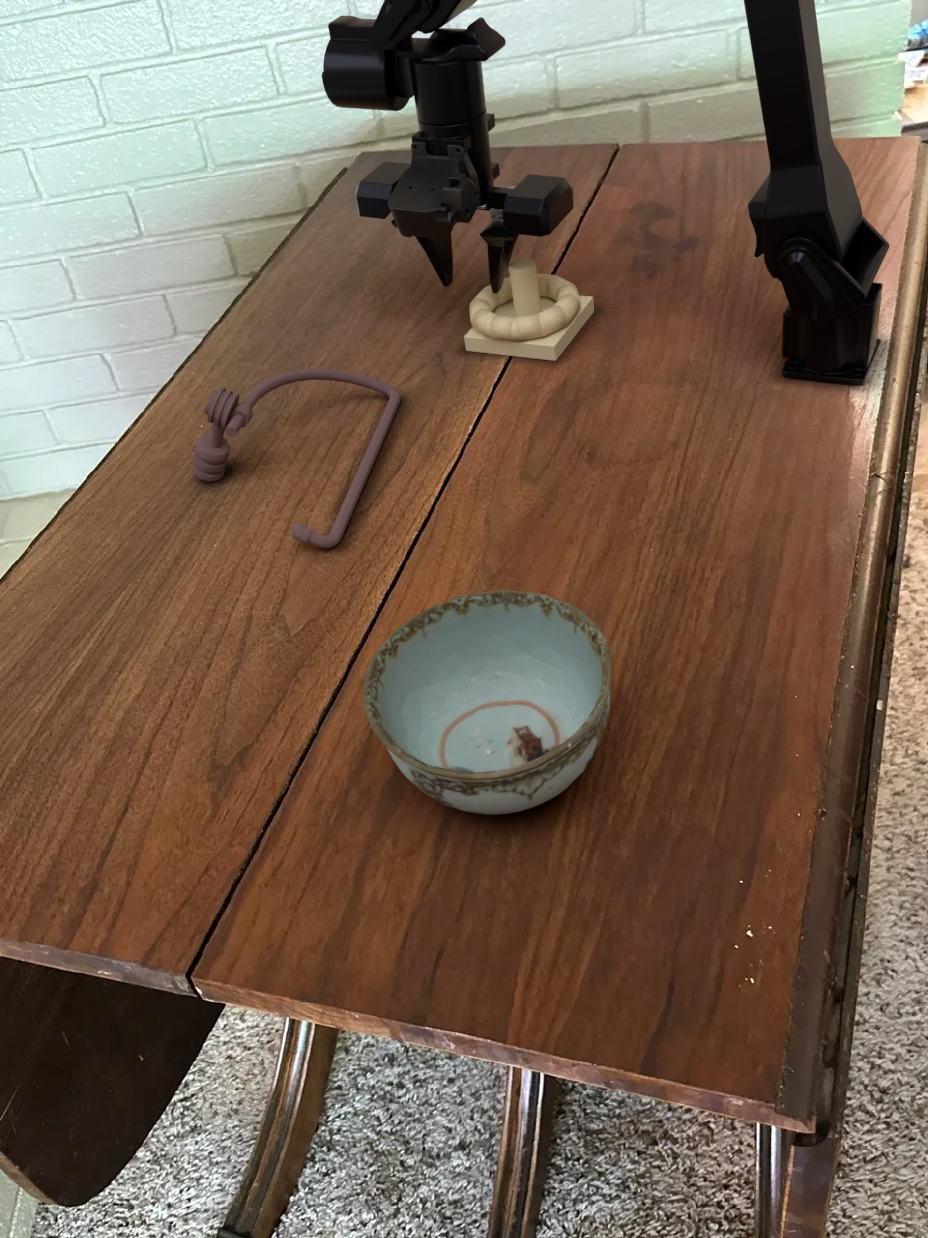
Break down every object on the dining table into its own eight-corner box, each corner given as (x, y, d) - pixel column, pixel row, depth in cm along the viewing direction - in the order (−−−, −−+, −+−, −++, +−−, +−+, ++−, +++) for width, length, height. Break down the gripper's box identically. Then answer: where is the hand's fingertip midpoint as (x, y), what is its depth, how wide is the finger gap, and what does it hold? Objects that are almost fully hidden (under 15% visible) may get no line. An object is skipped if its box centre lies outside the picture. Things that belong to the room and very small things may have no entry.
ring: (597, 294, 100) (595, 273, 98) (553, 349, 94) (551, 328, 92) (500, 286, 104) (497, 266, 103) (452, 338, 98) (449, 318, 97)
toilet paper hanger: (340, 540, 79) (159, 463, 77) (311, 610, 85) (142, 540, 83) (409, 380, 94) (259, 312, 92) (380, 449, 100) (239, 387, 98)
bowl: (666, 811, 59) (660, 714, 53) (436, 905, 57) (406, 814, 52) (566, 654, 69) (552, 558, 63) (366, 729, 67) (335, 637, 61)
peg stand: (594, 311, 100) (588, 244, 96) (555, 361, 95) (547, 292, 91) (507, 303, 104) (498, 238, 100) (465, 351, 99) (454, 285, 95)
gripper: (304, 143, 87) (341, 317, 98) (512, 160, 80) (528, 347, 91) (373, 92, 94) (401, 261, 105) (571, 104, 87) (579, 284, 98)
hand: (472, 288), depth 99 cm, fingers open, 5 cm apart
